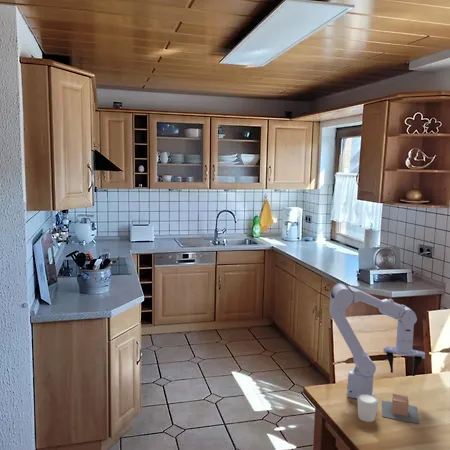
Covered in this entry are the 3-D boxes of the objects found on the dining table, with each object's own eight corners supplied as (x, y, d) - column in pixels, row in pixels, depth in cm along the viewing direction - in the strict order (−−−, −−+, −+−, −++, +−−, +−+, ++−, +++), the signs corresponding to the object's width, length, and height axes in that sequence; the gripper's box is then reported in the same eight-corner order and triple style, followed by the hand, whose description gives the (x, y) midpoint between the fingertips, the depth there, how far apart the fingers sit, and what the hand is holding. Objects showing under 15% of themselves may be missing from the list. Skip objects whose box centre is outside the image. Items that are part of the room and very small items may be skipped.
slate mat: (382, 416, 151) (382, 416, 151) (381, 400, 162) (381, 400, 162) (419, 423, 147) (419, 423, 147) (416, 407, 158) (416, 406, 158)
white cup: (376, 424, 146) (377, 404, 145) (355, 420, 148) (356, 401, 147) (377, 414, 152) (378, 395, 151) (356, 410, 154) (357, 392, 154)
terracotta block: (392, 413, 153) (393, 400, 152) (391, 406, 157) (392, 393, 157) (407, 416, 151) (408, 402, 150) (406, 409, 156) (407, 396, 155)
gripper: (384, 339, 162) (382, 374, 163) (426, 345, 157) (424, 381, 158) (384, 333, 168) (382, 367, 170) (424, 338, 163) (422, 373, 165)
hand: (402, 373), depth 164 cm, fingers open, 7 cm apart
